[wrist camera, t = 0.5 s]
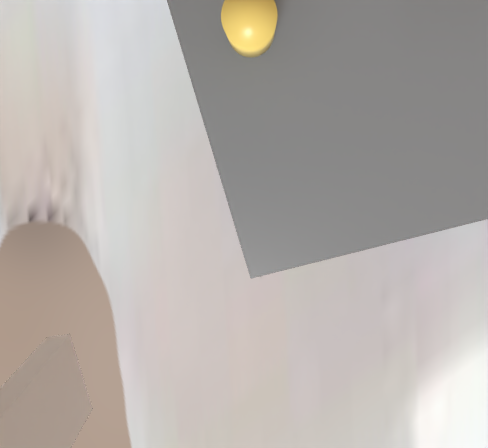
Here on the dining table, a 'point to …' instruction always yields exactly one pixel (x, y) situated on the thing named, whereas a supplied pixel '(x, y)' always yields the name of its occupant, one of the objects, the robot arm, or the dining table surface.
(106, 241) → the dining table surface
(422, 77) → the cover
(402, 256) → the dining table surface
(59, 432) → the robot arm
